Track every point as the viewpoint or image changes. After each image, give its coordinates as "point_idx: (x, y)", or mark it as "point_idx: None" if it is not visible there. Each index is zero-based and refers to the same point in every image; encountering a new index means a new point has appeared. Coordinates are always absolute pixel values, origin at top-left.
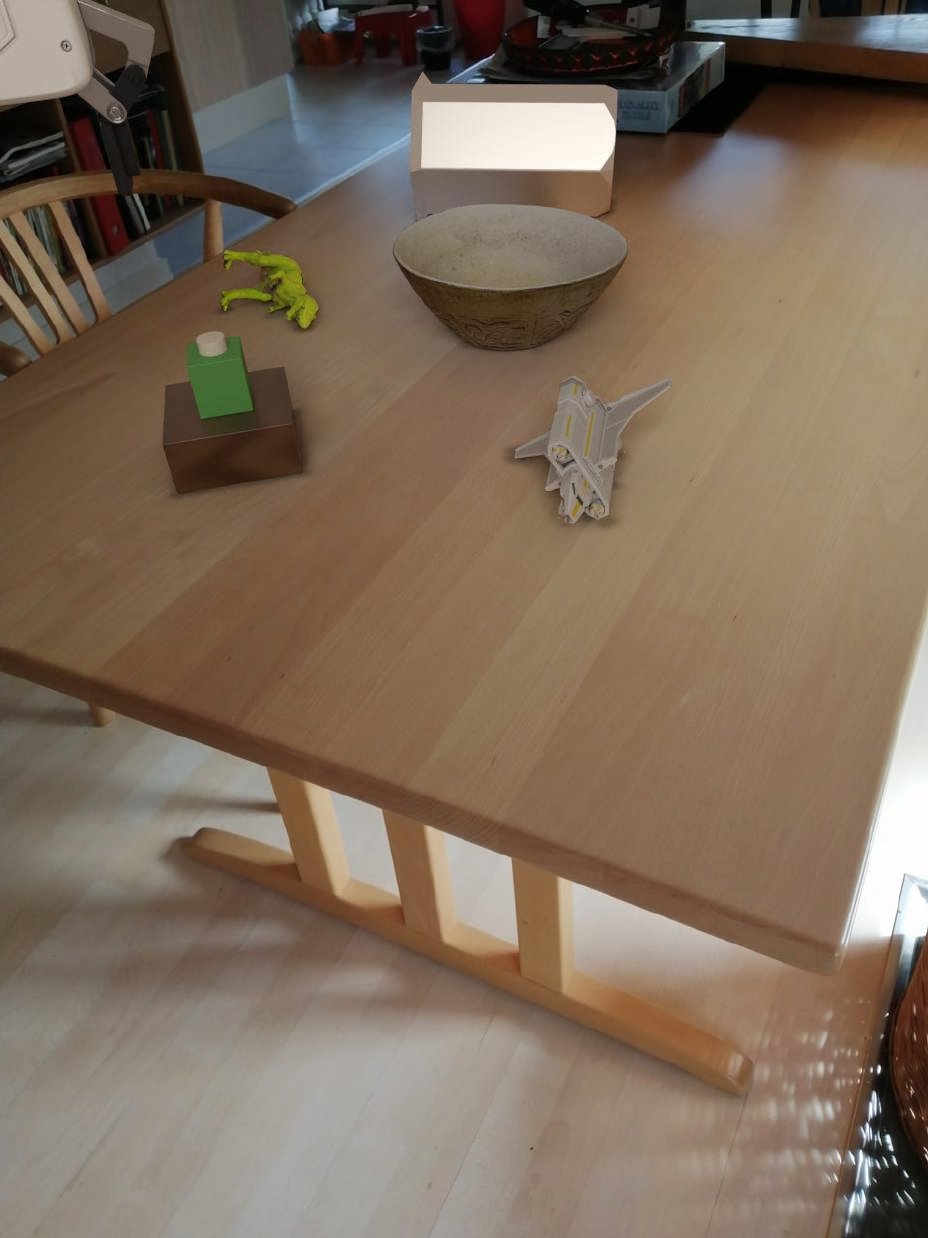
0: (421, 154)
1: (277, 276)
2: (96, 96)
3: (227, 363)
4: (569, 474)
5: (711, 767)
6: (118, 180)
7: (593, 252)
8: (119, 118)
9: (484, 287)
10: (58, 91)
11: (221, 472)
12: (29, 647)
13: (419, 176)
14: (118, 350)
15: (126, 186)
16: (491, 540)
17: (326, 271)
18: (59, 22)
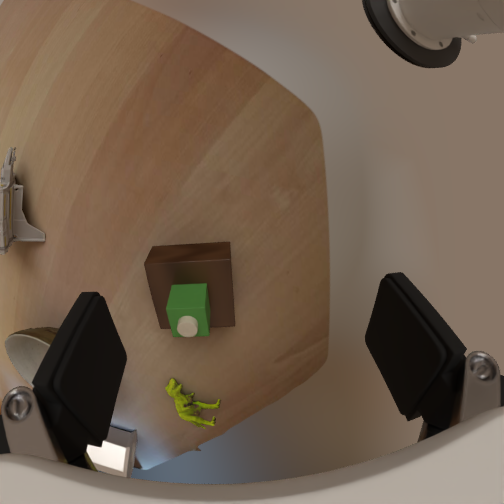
0: (125, 452)
1: (185, 407)
2: (29, 445)
3: (176, 306)
4: (4, 177)
5: (17, 20)
6: (84, 305)
7: (30, 368)
8: (25, 397)
9: (46, 344)
10: (40, 471)
11: (199, 247)
12: (309, 111)
13: (127, 445)
14: (273, 379)
15: (79, 297)
16: (52, 159)
17: (171, 414)
18: None
